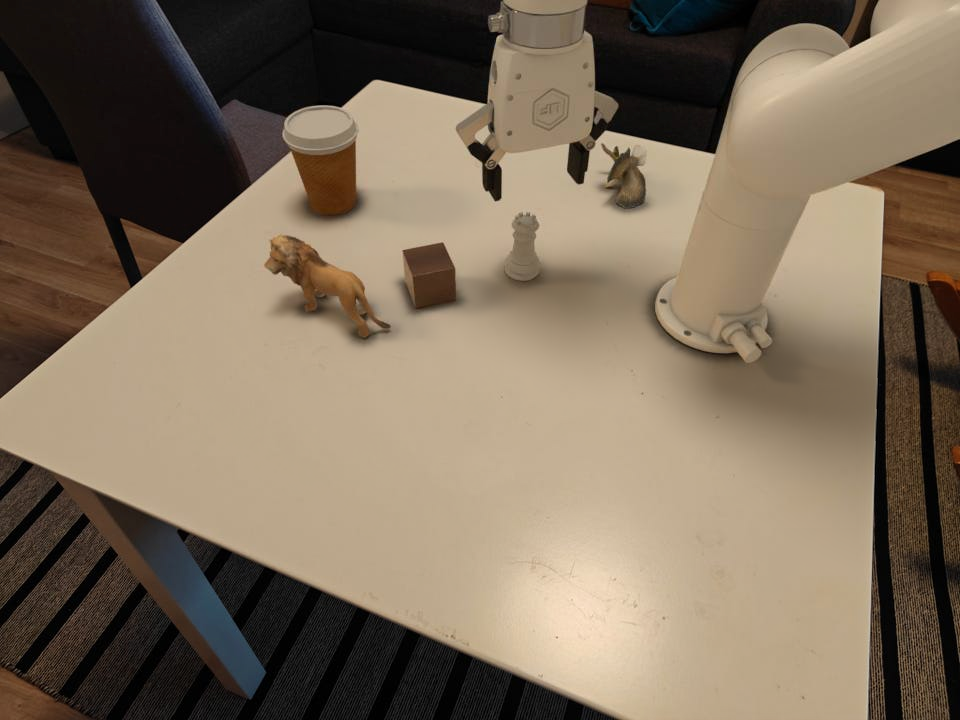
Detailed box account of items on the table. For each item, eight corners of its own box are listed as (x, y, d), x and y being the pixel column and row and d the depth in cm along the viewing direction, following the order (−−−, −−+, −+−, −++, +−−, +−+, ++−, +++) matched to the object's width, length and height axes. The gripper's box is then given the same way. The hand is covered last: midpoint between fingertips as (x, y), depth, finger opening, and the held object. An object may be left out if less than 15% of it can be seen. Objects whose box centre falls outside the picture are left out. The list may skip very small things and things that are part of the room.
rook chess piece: (499, 263, 82) (501, 210, 76) (532, 257, 83) (537, 204, 77) (510, 286, 79) (514, 232, 73) (545, 279, 80) (550, 225, 74)
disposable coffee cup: (378, 189, 93) (368, 109, 84) (351, 227, 87) (338, 145, 78) (317, 178, 94) (301, 99, 85) (286, 215, 88) (266, 134, 79)
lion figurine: (270, 308, 76) (251, 247, 69) (296, 281, 79) (280, 220, 73) (380, 345, 72) (370, 284, 65) (402, 315, 75) (396, 254, 69)
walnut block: (456, 300, 77) (455, 267, 73) (415, 308, 76) (412, 276, 72) (444, 274, 80) (443, 241, 77) (405, 282, 79) (402, 249, 76)
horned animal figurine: (583, 166, 95) (593, 190, 88) (615, 124, 92) (628, 146, 85) (622, 192, 98) (635, 218, 91) (654, 153, 94) (670, 177, 87)
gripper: (465, 51, 55) (470, 220, 67) (648, 23, 58) (621, 189, 71) (441, 20, 60) (450, 183, 72) (611, -4, 63) (591, 155, 76)
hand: (534, 186), depth 71 cm, fingers open, 9 cm apart
